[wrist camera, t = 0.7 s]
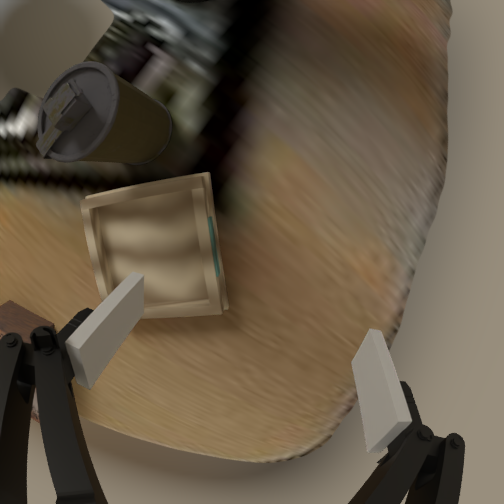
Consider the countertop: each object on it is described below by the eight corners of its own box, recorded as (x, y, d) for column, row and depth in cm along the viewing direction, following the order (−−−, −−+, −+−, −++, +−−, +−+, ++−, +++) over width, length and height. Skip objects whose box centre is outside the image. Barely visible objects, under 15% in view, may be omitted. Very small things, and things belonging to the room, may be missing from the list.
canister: (146, 85, 36) (74, 34, 16) (186, 131, 38) (125, 96, 18) (97, 134, 38) (7, 119, 18) (132, 181, 40) (45, 190, 20)
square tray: (90, 195, 40) (76, 198, 36) (209, 172, 39) (204, 171, 35) (116, 311, 45) (105, 322, 41) (229, 305, 44) (226, 317, 40)
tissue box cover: (66, 404, 53) (48, 428, 44) (25, 380, 53) (6, 401, 43) (54, 323, 47) (26, 346, 37) (10, 299, 46) (-18, 317, 37)
